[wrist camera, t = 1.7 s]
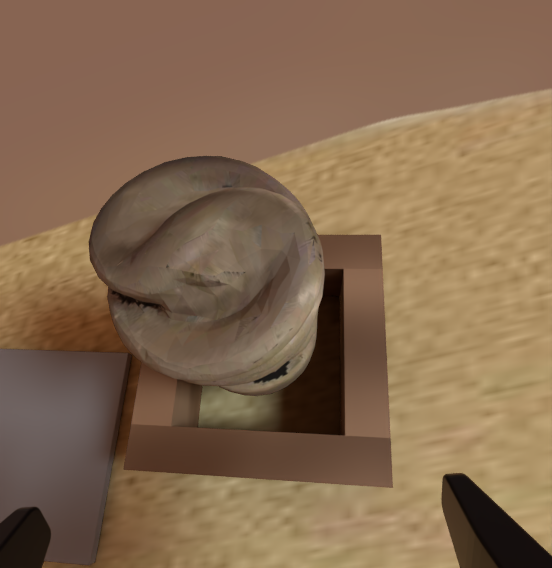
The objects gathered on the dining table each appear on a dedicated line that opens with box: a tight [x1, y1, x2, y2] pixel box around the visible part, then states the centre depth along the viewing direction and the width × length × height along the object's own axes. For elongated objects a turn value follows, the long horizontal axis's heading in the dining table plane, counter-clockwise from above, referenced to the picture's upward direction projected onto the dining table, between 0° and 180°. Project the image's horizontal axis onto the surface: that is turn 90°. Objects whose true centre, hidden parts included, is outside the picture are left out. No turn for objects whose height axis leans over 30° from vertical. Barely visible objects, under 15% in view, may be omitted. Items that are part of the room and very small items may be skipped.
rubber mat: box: [0, 349, 132, 565], centre depth 21 cm, size 10×10×1 cm
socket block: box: [124, 235, 393, 488], centre depth 20 cm, size 11×11×4 cm
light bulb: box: [89, 156, 325, 396], centre depth 15 cm, size 6×6×15 cm
